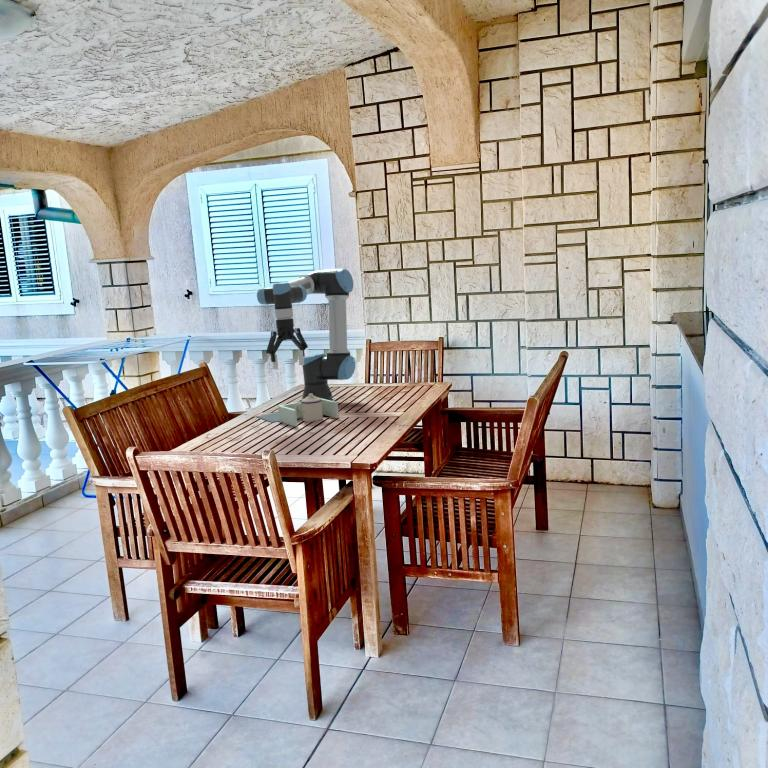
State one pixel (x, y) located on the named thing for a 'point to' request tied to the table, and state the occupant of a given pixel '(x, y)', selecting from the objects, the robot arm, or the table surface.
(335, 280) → the robot arm
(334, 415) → the bent sage-green plate
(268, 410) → the table surface
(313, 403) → the teacup with lid
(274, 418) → the mat
